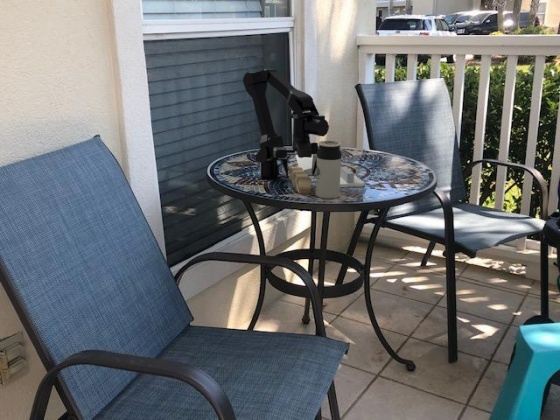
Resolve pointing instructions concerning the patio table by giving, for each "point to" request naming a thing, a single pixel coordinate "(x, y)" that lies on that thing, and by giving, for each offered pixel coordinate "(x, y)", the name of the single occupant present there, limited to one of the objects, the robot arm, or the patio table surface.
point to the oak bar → (300, 180)
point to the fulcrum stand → (349, 178)
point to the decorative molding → (306, 164)
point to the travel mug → (328, 169)
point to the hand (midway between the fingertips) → (300, 176)
